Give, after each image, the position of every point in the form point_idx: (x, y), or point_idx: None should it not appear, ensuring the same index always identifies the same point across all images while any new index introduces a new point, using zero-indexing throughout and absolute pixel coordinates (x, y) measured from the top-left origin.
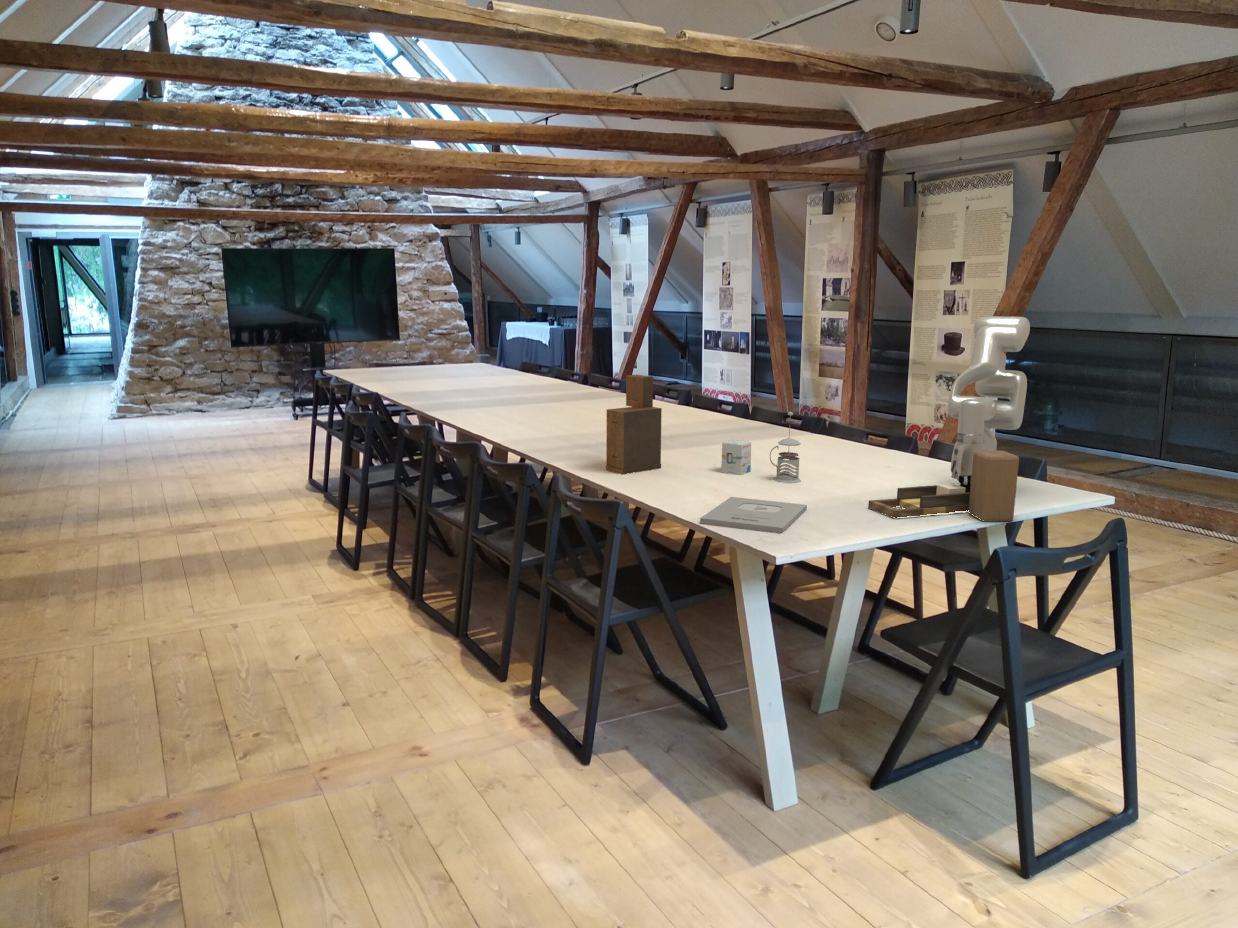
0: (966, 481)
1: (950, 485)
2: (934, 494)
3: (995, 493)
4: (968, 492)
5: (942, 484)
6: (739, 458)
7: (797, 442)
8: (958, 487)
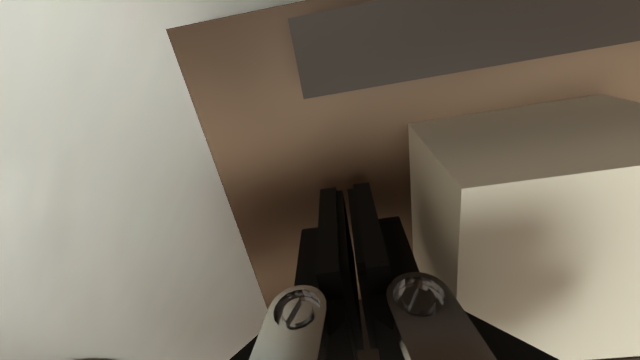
0: (411, 317)
1: (555, 315)
2: None
3: None
4: (473, 67)
5: (604, 357)
6: None
7: None
8: (557, 214)
